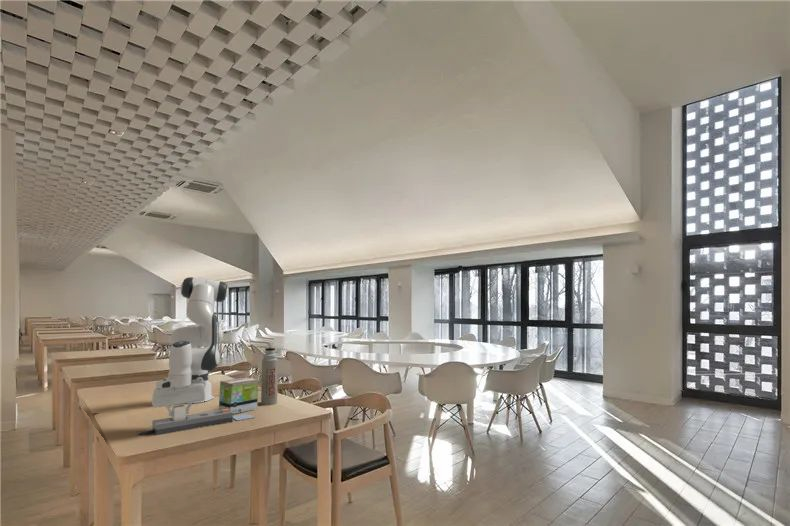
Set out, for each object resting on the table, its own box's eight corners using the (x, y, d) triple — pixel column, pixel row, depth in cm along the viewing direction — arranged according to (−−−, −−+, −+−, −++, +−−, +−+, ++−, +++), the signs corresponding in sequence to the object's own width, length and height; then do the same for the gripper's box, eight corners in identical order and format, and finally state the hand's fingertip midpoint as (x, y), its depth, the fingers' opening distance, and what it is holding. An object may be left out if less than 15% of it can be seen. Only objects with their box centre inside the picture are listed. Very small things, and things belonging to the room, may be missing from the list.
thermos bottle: (277, 404, 230) (278, 348, 233) (260, 405, 228) (262, 349, 230) (277, 400, 238) (277, 347, 240) (261, 401, 236) (262, 347, 238)
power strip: (136, 432, 182) (137, 420, 182) (226, 418, 204) (226, 407, 204) (140, 437, 176) (140, 425, 176) (232, 421, 198) (232, 410, 198)
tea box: (230, 415, 208) (231, 383, 209) (218, 412, 214) (219, 380, 216) (258, 409, 220) (258, 378, 221) (245, 406, 226) (246, 376, 227)
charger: (171, 423, 188) (172, 405, 189) (182, 421, 191) (183, 404, 192) (174, 425, 185) (174, 407, 185) (185, 423, 188) (186, 406, 188)
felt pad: (230, 417, 205) (230, 416, 205) (248, 414, 210) (248, 413, 210) (237, 421, 199) (237, 420, 199) (254, 418, 204) (254, 417, 204)
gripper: (203, 377, 198) (202, 409, 197) (151, 382, 186) (150, 417, 184) (207, 379, 193) (207, 412, 192) (154, 385, 181) (153, 420, 180)
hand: (178, 414), depth 188 cm, fingers closed on charger, 4 cm apart
